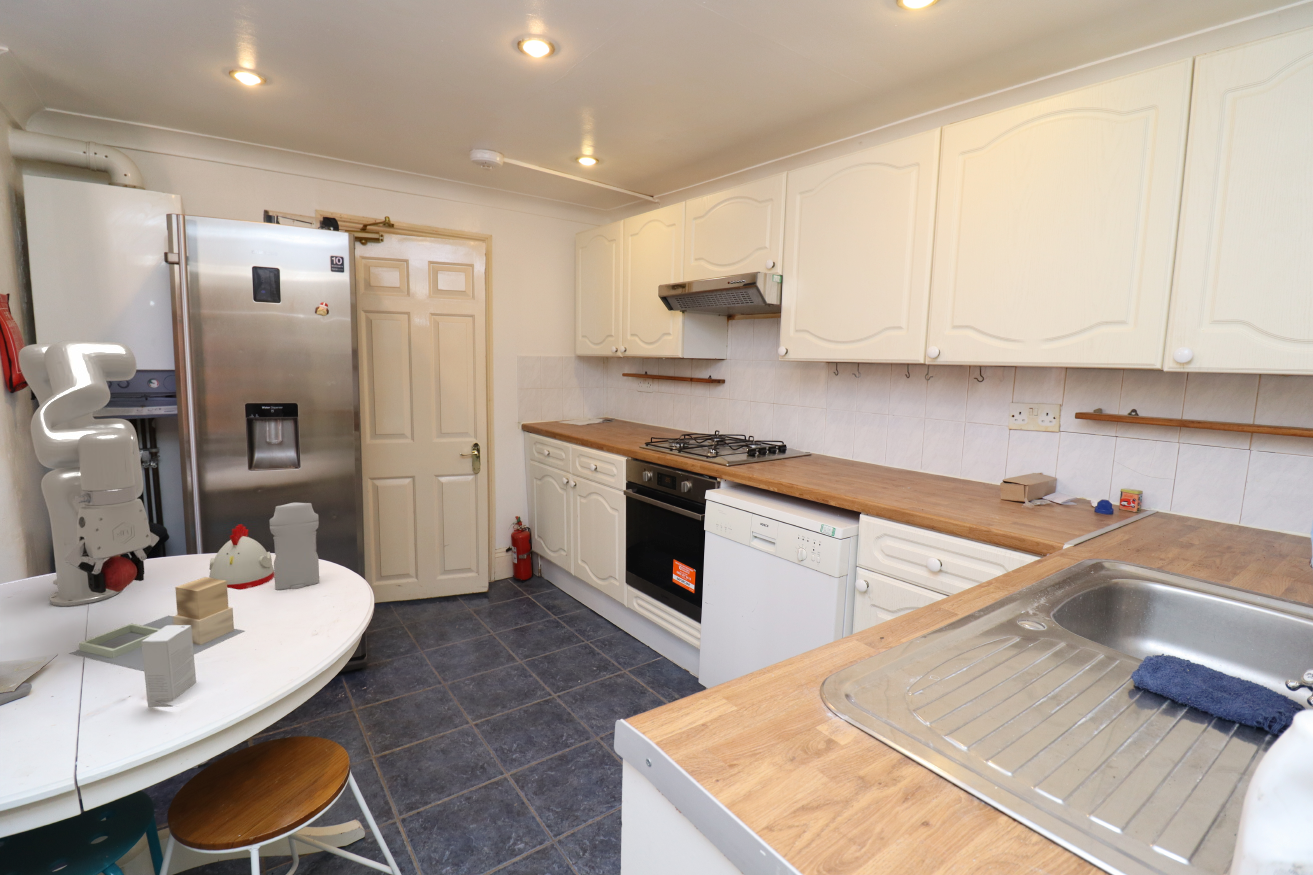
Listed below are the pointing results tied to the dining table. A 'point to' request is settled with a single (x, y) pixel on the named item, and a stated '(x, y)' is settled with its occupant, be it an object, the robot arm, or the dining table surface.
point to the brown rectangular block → (208, 625)
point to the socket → (94, 648)
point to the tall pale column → (295, 546)
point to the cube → (201, 598)
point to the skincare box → (168, 664)
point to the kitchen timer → (242, 562)
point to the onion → (118, 573)
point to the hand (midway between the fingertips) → (118, 584)
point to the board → (136, 656)
